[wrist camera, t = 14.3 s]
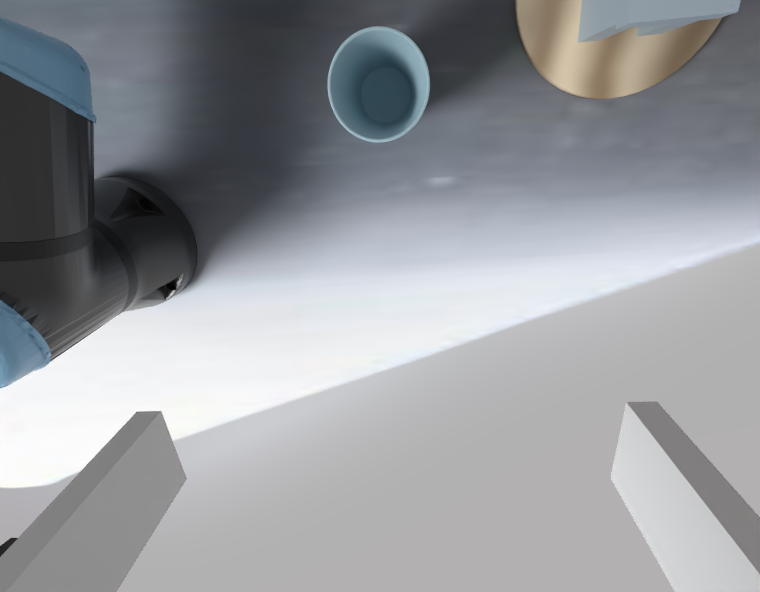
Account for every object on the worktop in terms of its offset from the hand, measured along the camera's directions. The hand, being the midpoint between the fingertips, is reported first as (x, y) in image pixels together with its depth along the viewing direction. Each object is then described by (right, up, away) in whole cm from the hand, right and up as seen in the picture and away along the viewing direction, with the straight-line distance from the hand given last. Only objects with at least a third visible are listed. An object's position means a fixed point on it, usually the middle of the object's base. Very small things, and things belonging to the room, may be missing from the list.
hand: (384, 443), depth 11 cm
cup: (0, +24, +28) cm, 37 cm away
